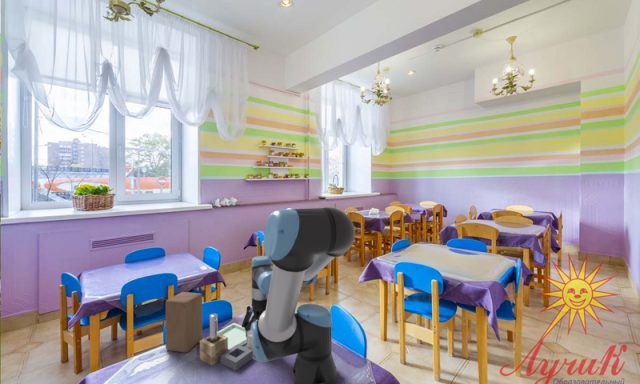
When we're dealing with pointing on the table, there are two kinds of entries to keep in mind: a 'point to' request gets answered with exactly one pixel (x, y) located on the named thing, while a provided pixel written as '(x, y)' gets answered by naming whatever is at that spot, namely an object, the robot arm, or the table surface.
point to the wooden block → (183, 321)
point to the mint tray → (234, 335)
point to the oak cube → (213, 349)
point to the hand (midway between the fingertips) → (261, 350)
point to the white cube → (251, 344)
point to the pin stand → (243, 357)
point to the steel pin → (213, 328)
